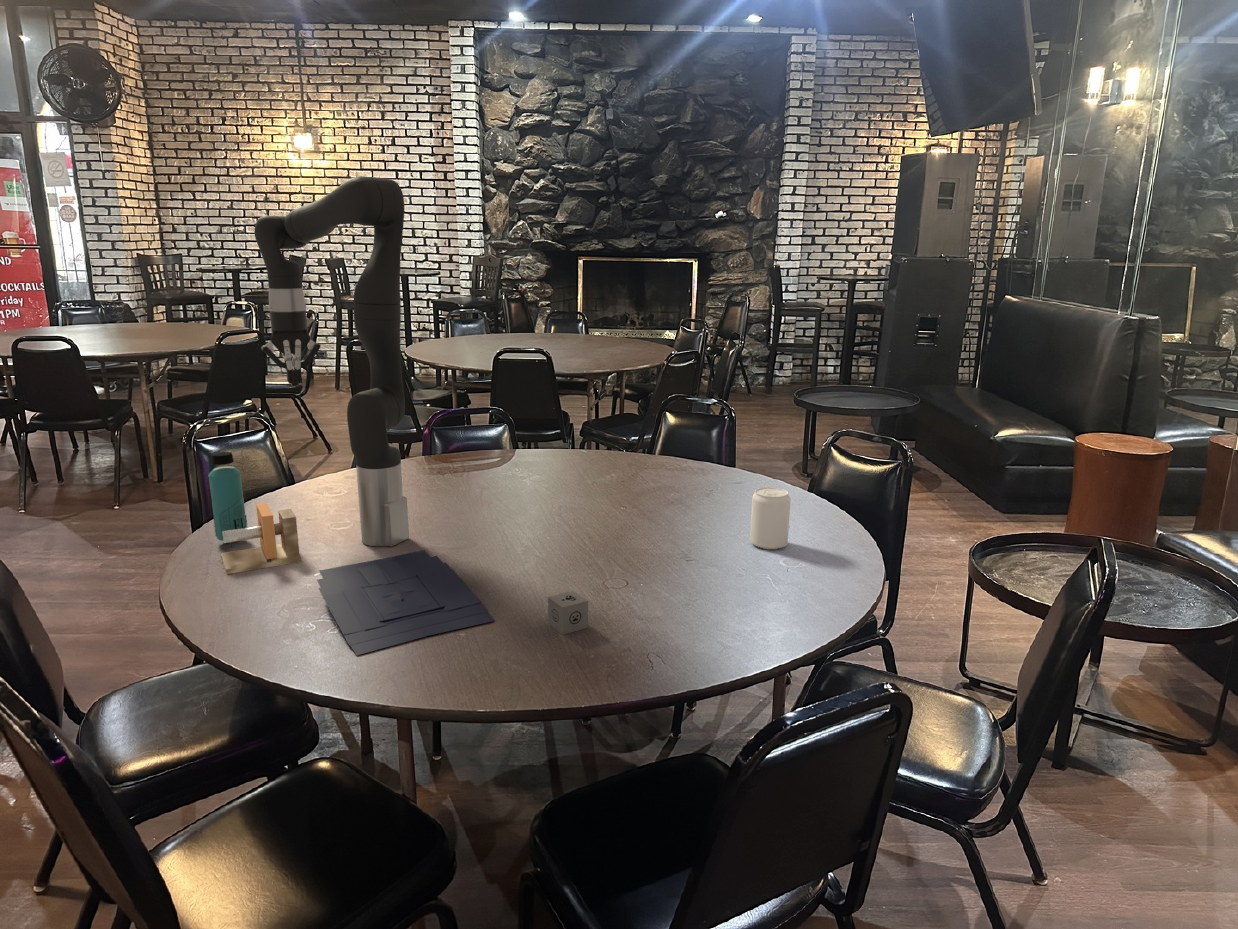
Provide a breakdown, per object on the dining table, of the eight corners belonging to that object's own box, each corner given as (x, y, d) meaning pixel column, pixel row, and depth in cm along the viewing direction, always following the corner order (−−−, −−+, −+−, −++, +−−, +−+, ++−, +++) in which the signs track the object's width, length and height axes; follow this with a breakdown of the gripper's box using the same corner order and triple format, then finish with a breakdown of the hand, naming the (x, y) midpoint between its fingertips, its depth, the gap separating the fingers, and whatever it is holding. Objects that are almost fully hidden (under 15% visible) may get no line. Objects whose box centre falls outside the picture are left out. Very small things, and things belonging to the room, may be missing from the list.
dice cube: (588, 627, 143) (588, 600, 142) (562, 635, 141) (562, 607, 139) (573, 617, 147) (573, 590, 146) (548, 623, 145) (547, 597, 143)
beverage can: (791, 541, 185) (794, 489, 182) (782, 553, 178) (785, 499, 175) (755, 536, 188) (758, 484, 185) (745, 547, 181) (748, 494, 178)
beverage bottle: (236, 549, 178) (226, 457, 172) (209, 546, 179) (197, 455, 174) (255, 538, 184) (246, 450, 179) (228, 536, 185) (218, 448, 180)
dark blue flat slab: (433, 560, 169) (433, 544, 168) (496, 634, 146) (496, 615, 145) (309, 585, 157) (307, 568, 155) (355, 670, 133) (354, 651, 132)
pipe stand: (226, 574, 164) (221, 530, 162) (221, 557, 173) (216, 516, 170) (301, 561, 171) (297, 519, 169) (293, 546, 179) (289, 506, 177)
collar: (266, 559, 168) (262, 516, 166) (260, 545, 176) (256, 504, 173) (277, 557, 169) (273, 515, 167) (270, 543, 176) (266, 503, 174)
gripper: (315, 306, 194) (321, 381, 198) (253, 308, 188) (261, 385, 192) (321, 309, 188) (328, 385, 192) (258, 311, 181) (266, 390, 186)
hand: (294, 385), depth 192 cm, fingers closed
